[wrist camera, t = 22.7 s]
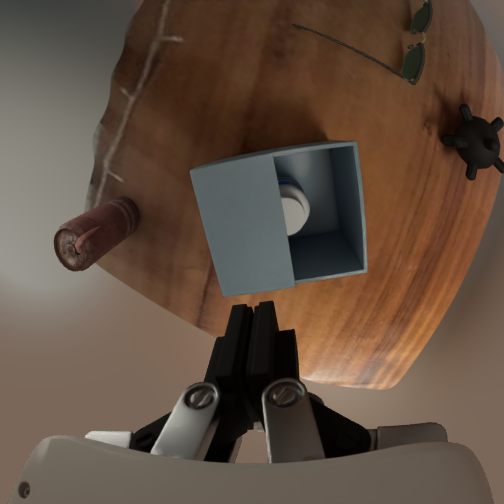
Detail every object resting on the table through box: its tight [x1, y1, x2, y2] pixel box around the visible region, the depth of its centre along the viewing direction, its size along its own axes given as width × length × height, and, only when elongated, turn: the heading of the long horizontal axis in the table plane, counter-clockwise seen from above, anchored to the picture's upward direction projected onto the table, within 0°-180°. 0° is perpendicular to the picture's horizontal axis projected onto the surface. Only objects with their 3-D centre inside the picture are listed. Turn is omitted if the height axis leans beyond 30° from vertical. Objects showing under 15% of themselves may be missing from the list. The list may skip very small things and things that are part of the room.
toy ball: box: [442, 104, 504, 180], centre depth 25 cm, size 11×11×12 cm
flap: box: [190, 153, 295, 297], centre depth 25 cm, size 7×13×1 cm, turn 12°
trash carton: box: [192, 140, 367, 284], centre depth 30 cm, size 15×13×12 cm
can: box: [54, 197, 139, 271], centre depth 32 cm, size 6×6×14 cm
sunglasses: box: [294, 0, 432, 85], centre depth 22 cm, size 16×17×5 cm
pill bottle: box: [277, 177, 310, 235], centre depth 31 cm, size 5×5×10 cm
